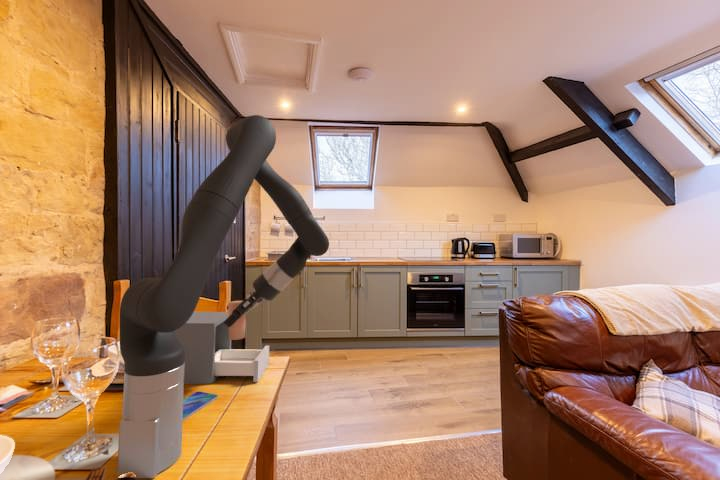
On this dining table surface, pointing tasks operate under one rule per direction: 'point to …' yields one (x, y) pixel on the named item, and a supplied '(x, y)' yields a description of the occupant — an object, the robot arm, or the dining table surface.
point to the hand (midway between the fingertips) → (230, 321)
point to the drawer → (241, 362)
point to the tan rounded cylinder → (236, 323)
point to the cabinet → (203, 345)
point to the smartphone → (196, 402)
